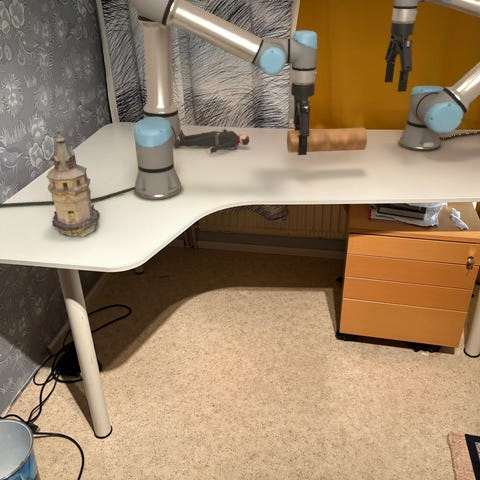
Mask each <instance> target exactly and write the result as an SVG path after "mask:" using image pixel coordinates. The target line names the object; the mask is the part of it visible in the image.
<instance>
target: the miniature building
mask: <svg viewBox="0 0 480 480" xmlns="http://www.w3.org/2000/svg"><path fill="white" fill-rule="evenodd" d="M56 134H57V136H56V138H55V140H54V141H55V142H56V147H55V154H54V156H52V157H51V161H52V162H53V165H54V167H53V168H51V169H50V170H49V171H48V173H47V174H46V178H47V179H48V182H49V184H48V186H47V190H48V191H49V193H50V194H51V201H54V204H53V205H54V209H55V211H53V217H52V220H51V223H52V225H51V227H54V228H56V229H58V230H59V231H60V234H63V235H64V234H65V235H66V236H69V237H77V236H80V237H83V236H87V235H88V234H90V233H93V232H94V231H95V229H96V226H97V225H98V223H99V220H100V216H101V213H100V212H99V210H98V209H96V208H95V204H92V202H91V199H92V197H91V192H92V191H91V188H90V184H91V178H89V177H88V174H87V167H85V166H84V165H83V166H82V165H80V164H77V160H76V154H75V151H74V150H70V149H69V147H68V145H67V143H66V138H65V137H64V136H63V135H61V130H60V129H56Z"/></svg>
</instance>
